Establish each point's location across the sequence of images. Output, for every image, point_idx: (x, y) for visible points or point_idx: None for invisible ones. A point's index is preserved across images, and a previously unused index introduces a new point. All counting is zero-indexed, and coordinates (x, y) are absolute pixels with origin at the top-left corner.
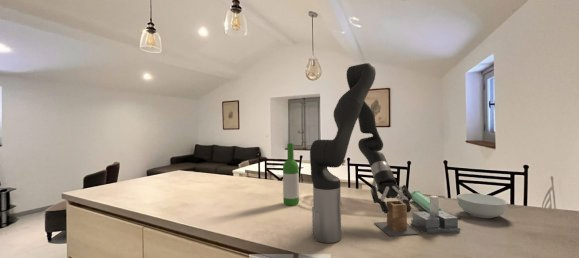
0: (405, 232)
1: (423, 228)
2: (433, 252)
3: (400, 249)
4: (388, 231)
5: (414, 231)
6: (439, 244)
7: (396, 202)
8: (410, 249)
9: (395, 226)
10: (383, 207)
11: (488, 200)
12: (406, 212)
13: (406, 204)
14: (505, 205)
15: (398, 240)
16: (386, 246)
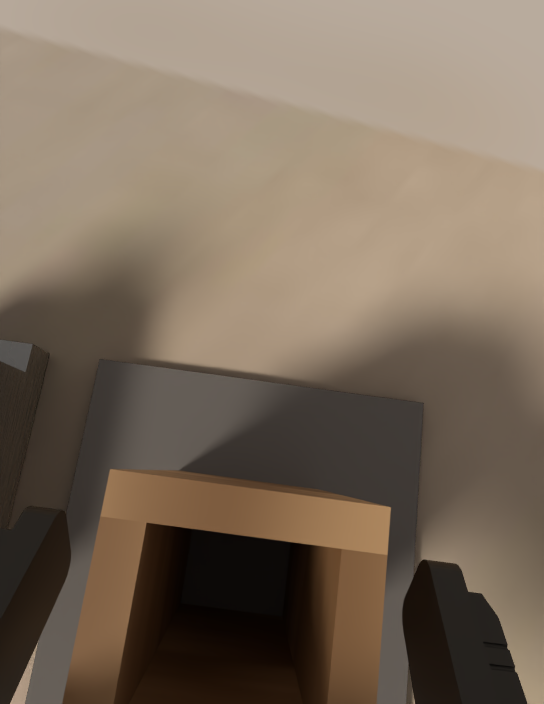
0: (239, 416)
1: (21, 417)
2: (269, 99)
3: (461, 189)
4: (383, 483)
5: (140, 413)
6: (128, 175)
7: None
8: (392, 170)
9: (305, 488)
10: (496, 639)
11: None
12: (148, 470)
13: (13, 604)
14: None
15: (388, 315)
16: (535, 252)
